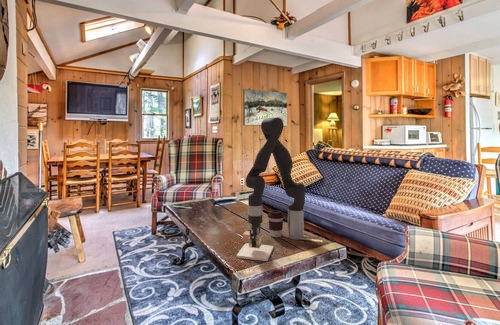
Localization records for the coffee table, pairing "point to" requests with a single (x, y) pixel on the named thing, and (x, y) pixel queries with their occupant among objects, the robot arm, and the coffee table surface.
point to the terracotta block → (246, 237)
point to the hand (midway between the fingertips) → (255, 244)
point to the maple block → (258, 241)
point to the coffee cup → (275, 223)
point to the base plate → (255, 252)
